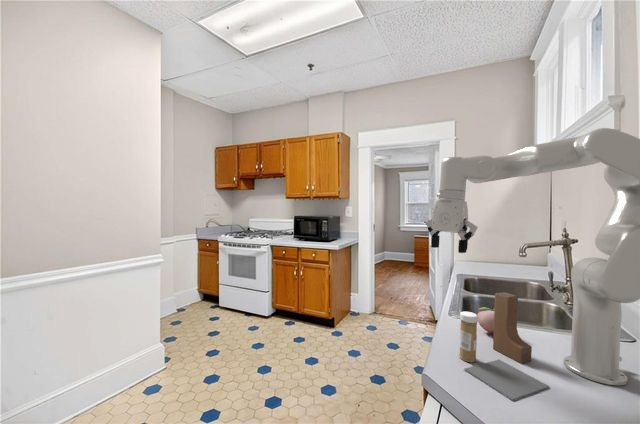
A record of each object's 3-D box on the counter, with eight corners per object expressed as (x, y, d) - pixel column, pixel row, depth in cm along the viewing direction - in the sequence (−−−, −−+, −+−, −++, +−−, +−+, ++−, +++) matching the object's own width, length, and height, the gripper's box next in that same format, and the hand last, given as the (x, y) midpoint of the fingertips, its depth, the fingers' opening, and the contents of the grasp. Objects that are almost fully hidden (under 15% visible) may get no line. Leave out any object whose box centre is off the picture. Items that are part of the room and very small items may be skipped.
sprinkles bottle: (479, 362, 81) (481, 316, 81) (466, 363, 80) (468, 317, 80) (468, 354, 85) (469, 310, 85) (455, 355, 84) (456, 311, 84)
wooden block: (531, 361, 82) (534, 300, 82) (521, 364, 80) (523, 302, 80) (502, 346, 90) (504, 291, 90) (492, 349, 89) (494, 292, 89)
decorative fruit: (481, 337, 97) (482, 309, 97) (474, 327, 105) (475, 301, 104) (512, 341, 95) (513, 312, 94) (502, 331, 103) (503, 304, 102)
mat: (498, 360, 82) (498, 359, 82) (549, 387, 70) (549, 386, 70) (464, 370, 77) (464, 368, 77) (512, 401, 65) (512, 399, 65)
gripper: (421, 195, 95) (418, 245, 95) (471, 196, 80) (466, 255, 80) (436, 197, 98) (432, 245, 99) (486, 197, 84) (481, 254, 84)
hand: (447, 249), depth 90 cm, fingers open, 9 cm apart
